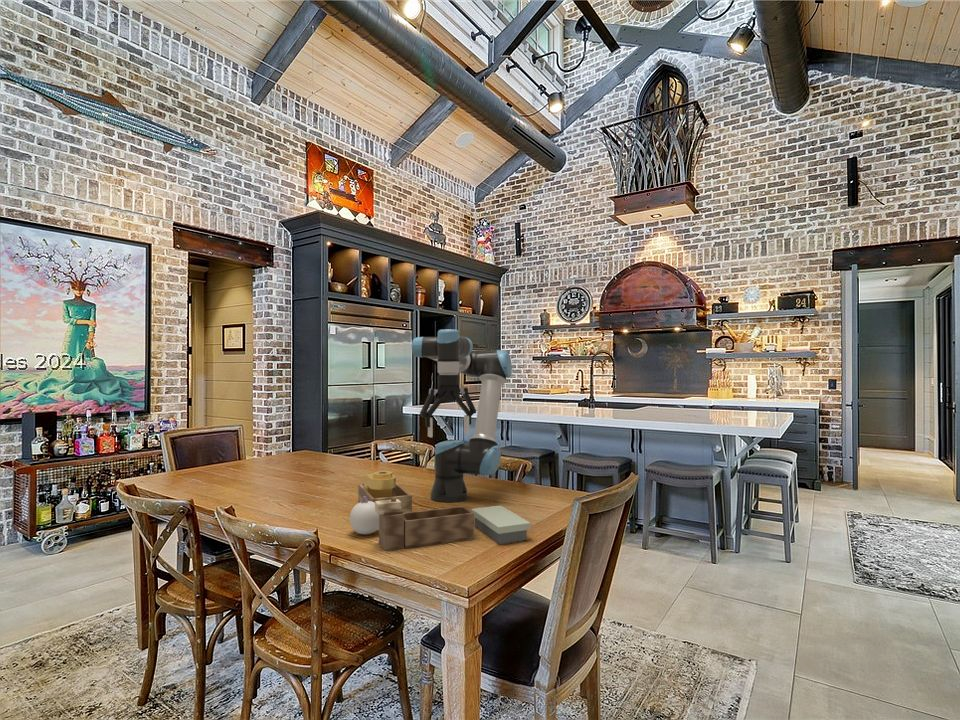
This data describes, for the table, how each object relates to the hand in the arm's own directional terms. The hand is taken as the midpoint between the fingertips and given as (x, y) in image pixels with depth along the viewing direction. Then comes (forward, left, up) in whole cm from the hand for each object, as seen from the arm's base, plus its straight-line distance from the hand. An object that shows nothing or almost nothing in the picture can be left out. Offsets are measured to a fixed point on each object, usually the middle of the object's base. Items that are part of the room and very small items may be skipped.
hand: (448, 435), depth 177 cm
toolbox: (+12, +15, -30) cm, 35 cm away
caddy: (+18, -18, -30) cm, 40 cm away
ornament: (+28, +1, -30) cm, 41 cm away
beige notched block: (+25, +15, -20) cm, 35 cm away
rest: (-12, +17, -30) cm, 36 cm away
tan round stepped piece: (+20, -20, -30) cm, 41 cm away
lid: (-12, +16, -27) cm, 33 cm away
